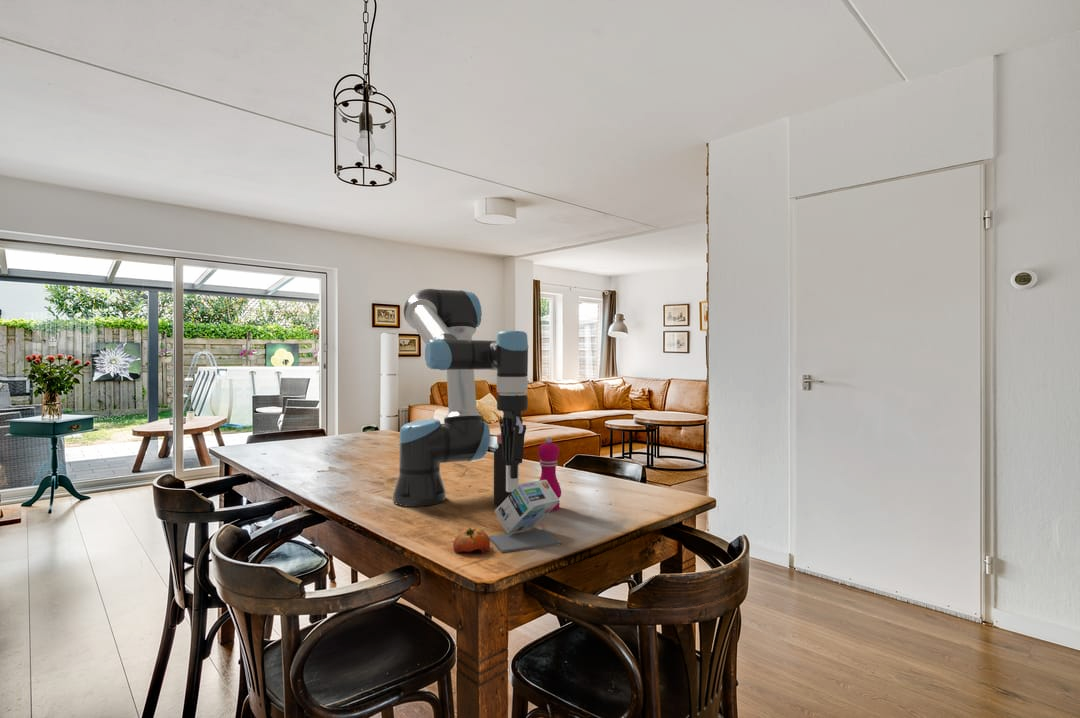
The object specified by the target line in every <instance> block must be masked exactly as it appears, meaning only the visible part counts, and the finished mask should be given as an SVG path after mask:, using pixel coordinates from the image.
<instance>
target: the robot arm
mask: <svg viewBox="0 0 1080 718" xmlns="http://www.w3.org/2000/svg"><path fill="white" fill-rule="evenodd" d="M482 314H483V313H482V306H481V302H480V299H479V298H478V296H477V295H476V293H474V292H472V291H467V290H466V291H465V290H463V289H461V290H460V289H459V290H455V289H454V290H450V289H439V288H437V289H435V288H426V289H425V288H424V289H421V290H418V291H417V292H414V293H413V294H412V295H410V296H409V297H408V299H407V300H406V301H405V303H404V306H403V317H404V319H405V321H406V323H407V324H408V326H410V327H411V328H413V329H415V330H416V332H417V333H418V334H419V337H420V338H421V340H422V341H423V342H424V344H425V348H424V359H425V360H424V361H425V365H426V366H427V367H428V368H429V369H430V370H439V371H446V384H447V385H446V386H447V388H446V389H447V404H448V406H447V408H448V413H447V414H446V415H445V416H444V417H443V421H444V422H443V423H441V421H440V420H439V419H436V418H431V419H421V420H415V421H411V422H407V423H404V424H403V425H402V426H401V428H400V430H399V439H398V443H399V464H398V465H399V474H398V479H397V482H396V483H395V487H394V490H393V492H392V493H393V494H392V502H393V501H394V502H395V503H397V504H401V505H400V506H402V505H407V506H406V507H425V506H424V505H428V506H433V505H432V504H434V505H437V503H438V504H440V503H443V502H444V501H446V489H445V486H444V482H443V480H442V477H441V473H440V470H441V469H440V465H441V464H442V463H443V464H445V463H453V462H454V463H456V462H458V463H459V462H471V461H475V460H476V461H477V460H481V459H484V457H485V456H486V454H487V453H488V450H489V446H490V440H491V439H490V438H491V431H490V428H489V427H490V426H489V424H488V422H486V421H484V420H483V416H482V414H481V413H479V411H478V410H477V398H476V395H477V394H476V384H475V383H476V382H475V381H476V380H475V370H476V371H477V370H480V371H481V370H490V371H492V370H494V371H496V392H497V393H498V395H497V396H496V410H498V411H500V412H503V415H502V419H501V420H499V429H500V434H501V441H502V455H503V460H505V463H506V491H507V492H513V491H514V490H515V489H516V487H517V486H518V485H519V465H520V464H522V463H523V459H524V458H523V456H524V446H525V434H526V430H527V425H526V424H523V421H524V420H523V418H522V417H523V416H522V411H523V412H524V411H525V412H526V411H527V410H528V409H529V407H528V406H529V404H528V402H529V401H528V400H529V399H528V396H527V394H526V393H528V391H529V390H528V385H529V384H530V381H529V379H528V376H529V375H528V371H529V370H528V369H529V367H528V365H529V364H528V363H529V344H528V343H529V342H528V341H529V340H528V339H529V338H528V333H527V332H525V331H522V330H500V331H499V332H497V337H496V340H480V339H479V340H475V339H473V338H472V337H473V335H475V333H476V332H477V328H479V327H480V325H481V323H482V316H483V315H482ZM442 501H443V502H442ZM394 502H393V503H394ZM395 503H394V504H395ZM397 504H396V505H397Z"/></svg>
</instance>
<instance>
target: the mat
mask: <svg viewBox="0 0 1080 718" xmlns="http://www.w3.org/2000/svg"><path fill="white" fill-rule="evenodd" d="M488 537H489V540H490V543H492V544H493V545H494V546H495V547H496V548H497V549H498V550H499V551H500V552H501V553H508V552H509V553H510V552H517V551H521V550H529V549H530V550H531V549H536V548H543V547H551V546H559V544H560V545H562V542H561V541H560V540H559V539H557V538H556V537H555V536H554V535H552V534H551V533H550V532H549V531H547V530H546V529H545V528H544V529H543V528H542V529H535V530H533V529H532V530H524V531H518V532H514V533H510V534H507V533H502V534H501V533H500V534H495V535H488Z"/></svg>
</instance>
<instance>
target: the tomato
mask: <svg viewBox="0 0 1080 718" xmlns="http://www.w3.org/2000/svg"><path fill="white" fill-rule="evenodd" d="M488 536H489V535H488V534H487V533H486V532H485V530H483V529H482V528H481V529H480V528H477V527H468V528H466V529H463V530H461V531H460V532H459V533H458V534H457V535H456V536H455V539H454V541H453V550H454V553H456V554H457V553H462V552H468V553H469V552H473V551H474V550H479V551H481V553H480V554H481V555H483V554H485V553H486V552H490V547H491V541H490V540H489V537H488Z"/></svg>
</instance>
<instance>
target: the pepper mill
mask: <svg viewBox="0 0 1080 718" xmlns="http://www.w3.org/2000/svg"><path fill="white" fill-rule="evenodd" d="M552 441H553V439H552V437H549V436H547V437H546V438H545V442H544V443H541V444H540V445H539V447H538V449H537V455H538V456H539V458H540V459H539V466H540V469H541V473H540V478H539V480H538V481H540V480H547V482H548V483H549V485H550V486H551V488H552V490H553V491H554V493H555V494H556V496H557V497H558V499H559V500H560V498H561V496H562V488H561V486H560V485H561V484H560V483H559V481H558V478H557V473H556V470H557V469H556V468H557V466H558V460H557V459H558V457H559V455H560V448H559V446H558V444H556V443H554V442H552ZM555 510H556V511H559V510H560V502H559V503H558V504H557V505H556V506H555V507H554V508H553V509H552V510H551V511H550V512H555Z"/></svg>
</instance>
